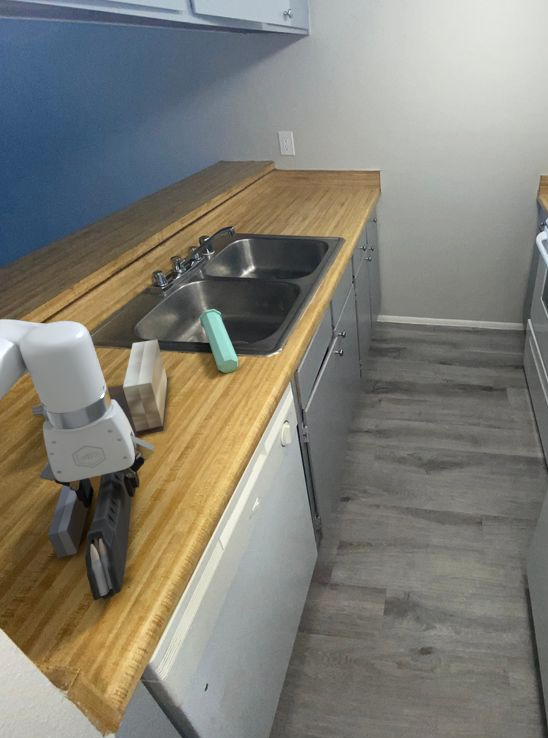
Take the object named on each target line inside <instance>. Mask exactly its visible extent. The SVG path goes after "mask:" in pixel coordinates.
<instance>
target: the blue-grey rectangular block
mask: <svg viewBox="0 0 548 738" xmlns="http://www.w3.org/2000/svg"><path fill="white" fill-rule="evenodd" d="M55 506H56V507H55V510H54V513H53V516H52V520H51V523H50V526H49V528H48V532H47V538H48V539H49V541H50V543H51V545H52V548H53V549H54V552H55V554H56V556H57V558H58V559H60V558H61V559H62V558H64V557H68V556H72V555H76V554H78V552H79V549H80V543H81V539H82V535H83V531H84V527H85V522H86V518H87V516H88V515H87V514H88V511H89V508H85V507H84V505H83V502H82V501H79V500H78V498H77V495H76V493H75V491H71V490H70V489H69V487H68V486H64V485H62V488H61V491H60V493H59V496H58V500H57V503H56V505H55Z"/></svg>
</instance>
